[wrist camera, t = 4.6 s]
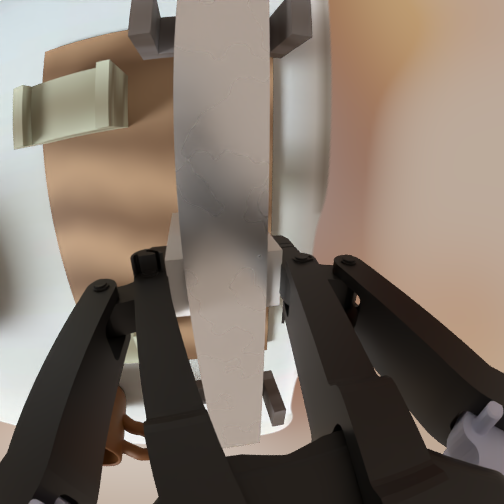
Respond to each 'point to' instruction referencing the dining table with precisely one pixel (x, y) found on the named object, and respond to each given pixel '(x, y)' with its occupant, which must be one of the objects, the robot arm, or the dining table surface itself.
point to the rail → (225, 200)
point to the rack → (124, 149)
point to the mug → (122, 434)
